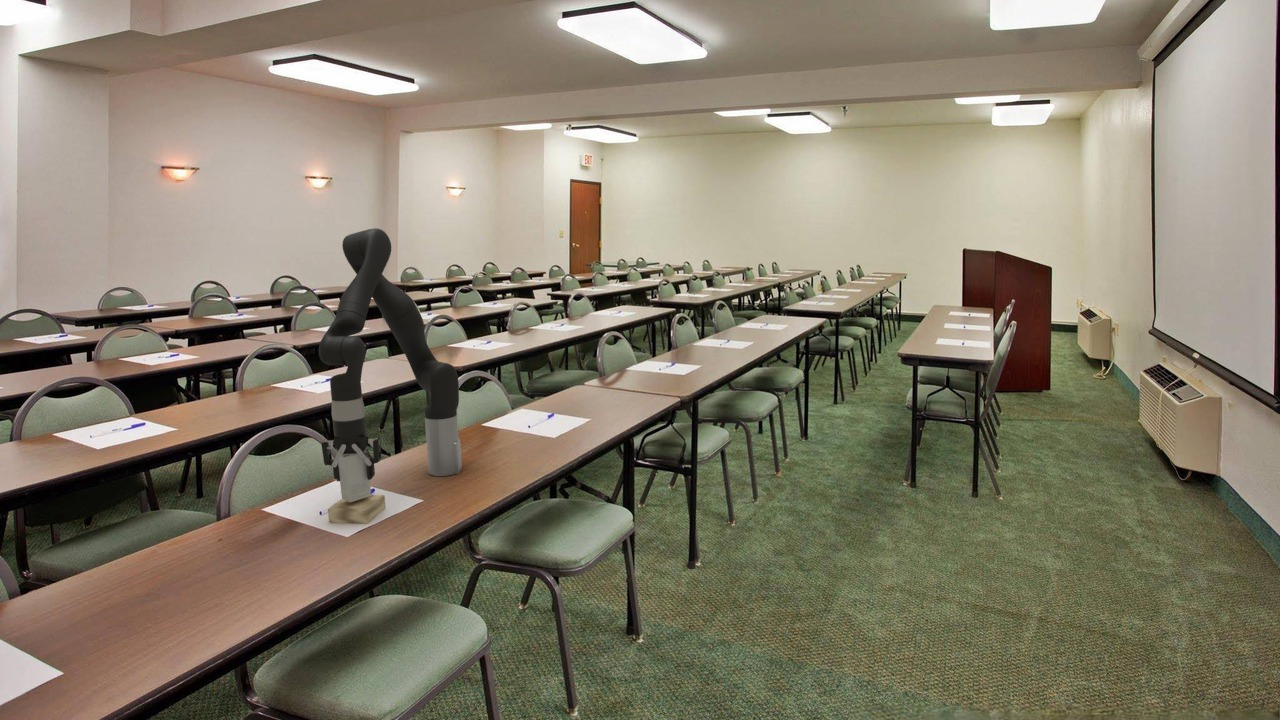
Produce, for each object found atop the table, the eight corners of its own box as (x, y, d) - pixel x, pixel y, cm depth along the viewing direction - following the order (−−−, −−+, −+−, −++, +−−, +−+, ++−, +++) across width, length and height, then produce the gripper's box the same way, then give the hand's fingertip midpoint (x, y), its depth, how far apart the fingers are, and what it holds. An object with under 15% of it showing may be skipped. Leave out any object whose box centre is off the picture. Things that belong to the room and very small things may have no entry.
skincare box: (363, 492, 189) (358, 447, 187) (372, 496, 186) (368, 450, 184) (340, 499, 184) (335, 453, 182) (349, 503, 181) (345, 456, 179)
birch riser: (385, 509, 190) (384, 494, 190) (367, 525, 180) (366, 509, 180) (349, 509, 191) (347, 493, 191) (329, 524, 182) (327, 508, 181)
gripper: (382, 411, 186) (387, 473, 188) (324, 413, 184) (330, 476, 187) (374, 418, 178) (379, 483, 181) (313, 421, 177) (320, 486, 180)
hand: (354, 479), depth 184 cm, fingers closed on skincare box, 7 cm apart
